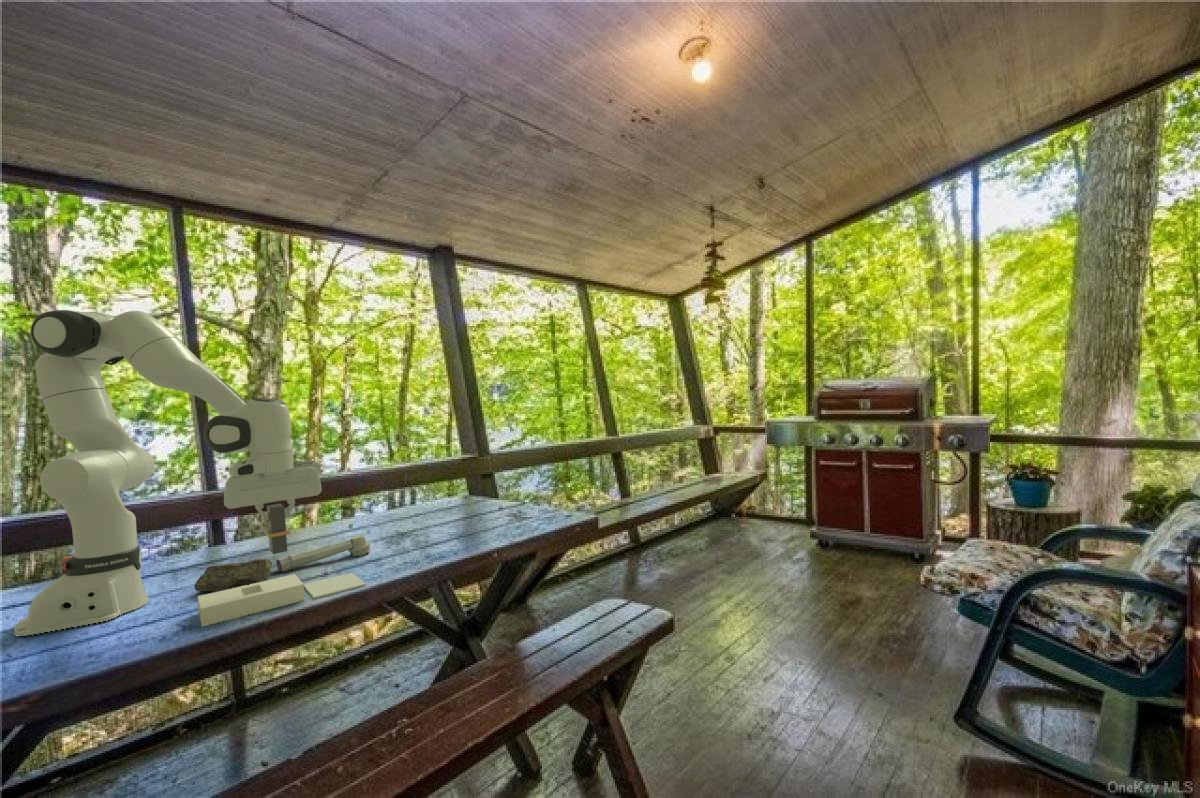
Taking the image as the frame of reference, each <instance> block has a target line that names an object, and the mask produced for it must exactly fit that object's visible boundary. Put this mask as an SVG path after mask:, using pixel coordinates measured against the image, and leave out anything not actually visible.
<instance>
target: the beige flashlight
mask: <svg viewBox="0 0 1200 798" xmlns="http://www.w3.org/2000/svg"><path fill="white" fill-rule="evenodd" d="M370 546H371V542H370V541H367V538H366V536H365V535H364V534H358V535H354V536H353V537H352V536H351V538H350V539H347V540H343V541H339V542H336V543H332V544H327V545H324V546H320V547H316V548H313V549H312V548H311V549H310V550H305V551H302V552H297V553H295V554H291V553H289V554H288V555H287V556H284V557H281V558H277V559H276V560H275V561H276V562H275V563H276V567H277V570H278V572H279V573H280V572H281V573H285V572H288V571H291V570H292V571H294V570H295V569H297V568H300V567H302V566H306V565H309V564H311V563H315V562H317V561H321V560H324V559H326V558H329V557H332V556H335V555H338V554H341V553H344V552H346V551H348V552H349V553H350V557H352V556H356V557H362V556H361V555H363V556H365V555H366V554H370V553H371V549H370ZM284 571H285V572H284Z"/></svg>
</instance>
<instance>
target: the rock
mask: <svg viewBox="0 0 1200 798" xmlns="http://www.w3.org/2000/svg"><path fill="white" fill-rule="evenodd" d="M272 565H273V562H272V561H271V560H270V559H267V558H264V559H261V558H259V559H258V558H257V559H253V560H249V561H241V562H230V563H224V564H220V565H211V566H208V567H206V569H205V570H204V573H203V574H202V575H200V577H199V578H198V579H197V580H196V582H195V583H194V586H193V587H194V590H195V591H196V592H219V591H223V590H227V589H230V588H231V589H232V588H233V587H234V588H236V587H238V586H245V585H247V584H254V583H258V582H262V581H266V580H268V579H269V576H270V573H271V568H272ZM237 585H238V586H237Z"/></svg>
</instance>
